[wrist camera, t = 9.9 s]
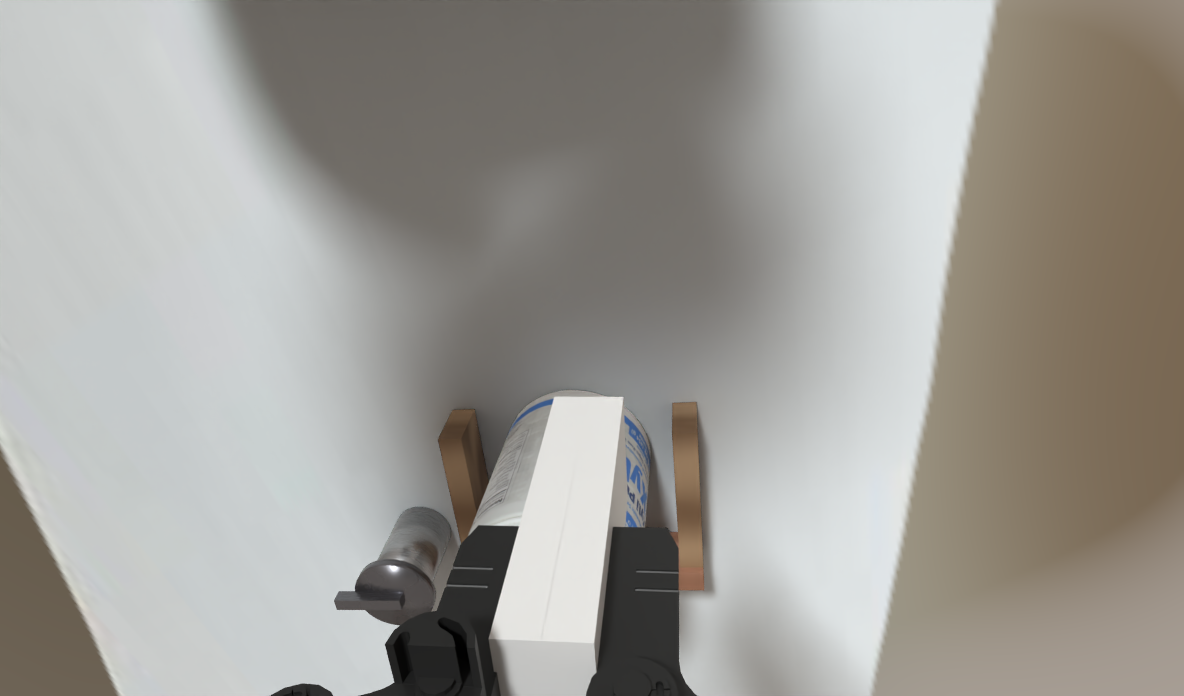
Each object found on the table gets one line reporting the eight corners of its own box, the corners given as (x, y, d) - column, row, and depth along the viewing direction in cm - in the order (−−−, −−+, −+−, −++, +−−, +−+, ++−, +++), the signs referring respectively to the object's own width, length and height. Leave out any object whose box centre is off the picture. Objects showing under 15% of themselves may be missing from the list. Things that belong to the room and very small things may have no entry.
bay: (452, 409, 51) (435, 444, 47) (696, 402, 49) (697, 437, 45) (481, 549, 56) (468, 589, 53) (702, 548, 54) (704, 590, 51)
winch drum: (367, 500, 55) (325, 574, 49) (452, 499, 54) (420, 574, 48) (383, 556, 58) (345, 634, 51) (464, 556, 57) (436, 635, 50)
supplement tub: (676, 422, 50) (675, 589, 37) (612, 522, 54) (590, 704, 41) (540, 359, 49) (489, 508, 35) (485, 466, 53) (422, 634, 40)
